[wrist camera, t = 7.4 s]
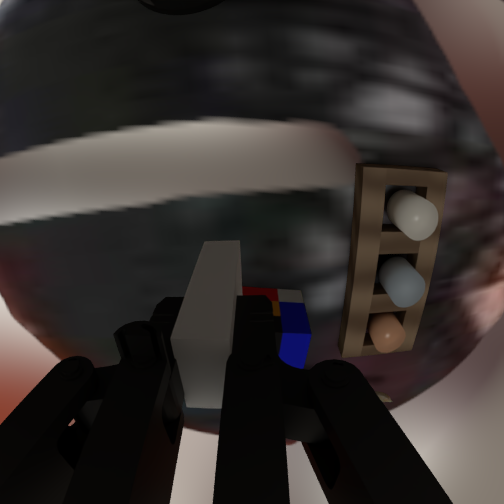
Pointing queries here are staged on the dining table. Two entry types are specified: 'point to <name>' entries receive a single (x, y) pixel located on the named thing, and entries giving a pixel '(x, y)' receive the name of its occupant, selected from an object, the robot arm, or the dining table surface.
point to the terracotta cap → (385, 331)
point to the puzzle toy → (288, 323)
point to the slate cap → (401, 281)
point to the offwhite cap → (412, 214)
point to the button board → (385, 242)
